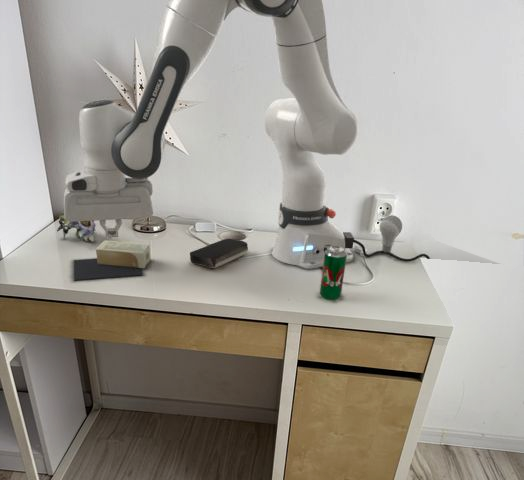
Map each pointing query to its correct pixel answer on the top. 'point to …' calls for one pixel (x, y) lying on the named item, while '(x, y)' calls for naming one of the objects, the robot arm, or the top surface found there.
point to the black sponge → (219, 253)
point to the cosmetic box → (123, 254)
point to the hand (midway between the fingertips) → (112, 236)
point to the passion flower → (78, 228)
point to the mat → (101, 270)
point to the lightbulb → (390, 231)
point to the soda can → (333, 272)
